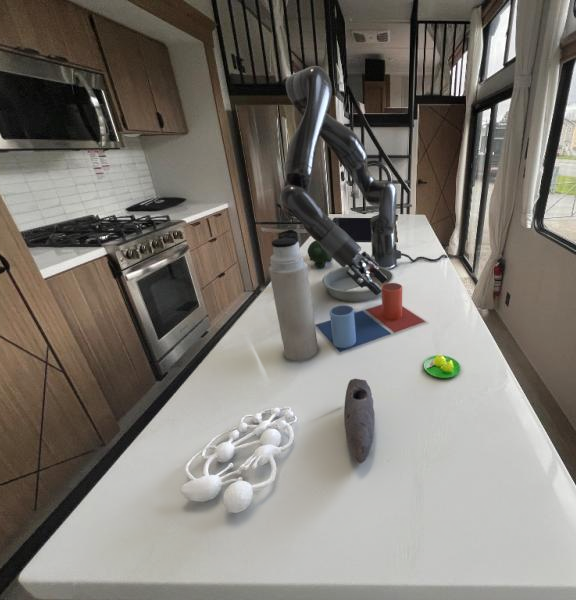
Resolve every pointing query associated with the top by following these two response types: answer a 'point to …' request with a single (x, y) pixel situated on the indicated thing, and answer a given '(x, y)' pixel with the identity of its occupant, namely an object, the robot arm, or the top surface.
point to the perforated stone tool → (359, 419)
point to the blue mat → (358, 330)
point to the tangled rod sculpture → (240, 491)
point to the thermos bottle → (293, 300)
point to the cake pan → (352, 284)
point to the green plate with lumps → (443, 366)
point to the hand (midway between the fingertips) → (382, 286)
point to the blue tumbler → (343, 326)
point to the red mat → (398, 324)
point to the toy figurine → (318, 254)
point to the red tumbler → (392, 301)
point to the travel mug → (290, 236)
